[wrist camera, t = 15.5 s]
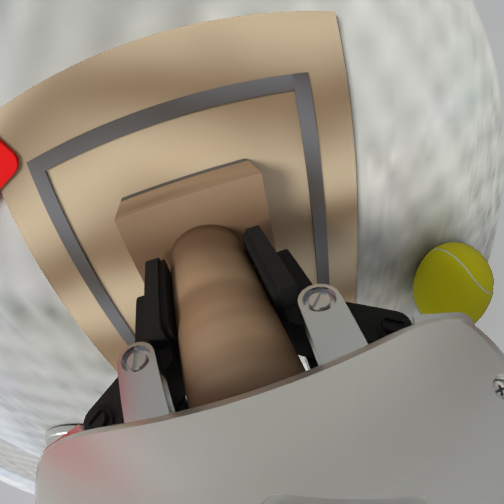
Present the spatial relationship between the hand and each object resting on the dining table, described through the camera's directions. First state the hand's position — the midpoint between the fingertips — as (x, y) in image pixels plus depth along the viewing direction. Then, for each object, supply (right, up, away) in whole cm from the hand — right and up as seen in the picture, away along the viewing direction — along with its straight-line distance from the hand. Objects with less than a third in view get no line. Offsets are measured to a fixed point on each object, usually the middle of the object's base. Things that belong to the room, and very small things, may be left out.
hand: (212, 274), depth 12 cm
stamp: (-1, +2, +3) cm, 3 cm away
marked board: (-1, +2, +3) cm, 4 cm away
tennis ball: (+17, 0, +10) cm, 20 cm away
